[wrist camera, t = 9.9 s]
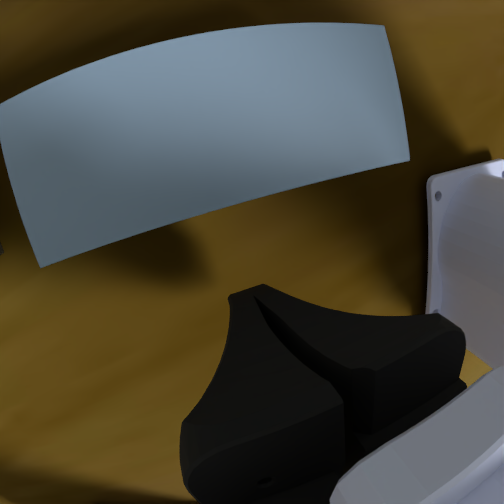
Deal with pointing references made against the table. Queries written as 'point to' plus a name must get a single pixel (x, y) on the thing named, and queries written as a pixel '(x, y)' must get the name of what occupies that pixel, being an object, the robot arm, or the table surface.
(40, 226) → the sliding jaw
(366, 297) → the table surface
